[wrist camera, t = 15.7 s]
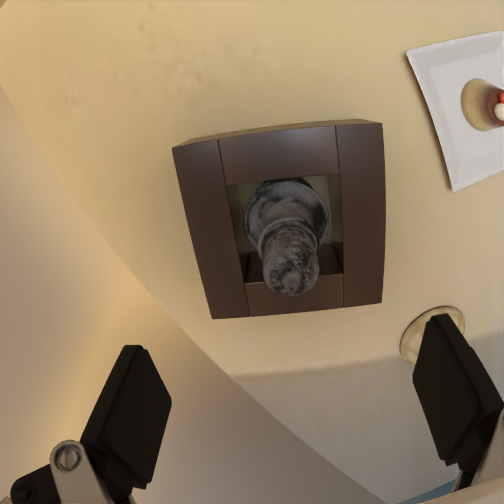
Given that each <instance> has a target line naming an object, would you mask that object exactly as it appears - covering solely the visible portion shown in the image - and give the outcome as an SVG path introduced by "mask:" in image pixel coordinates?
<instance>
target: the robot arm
mask: <svg viewBox="0 0 504 504" xmlns="http://www.w3.org/2000/svg"><path fill="white" fill-rule="evenodd" d="M413 384H414V387H415V389H416V392H417V395H418V397H419V400H420V403H421V405H422V408H423V411H424V414H425V416H426V419H427V422H428V425H429V428H430V431H431V434H432V437H433V440H434V443H435V446H436V449H437V452H438V455H439V458H440V459H441V460H445V464H446V466H449V465H452V464H455V463H458V466H459V469H460V472H459V474H458V477H457V479H456V481H455V483H454V485H453V487H452V489H451V491H450V493H449V494H447V495H445V496H442V497H439V498H436V499H432V500H429V501H426V502H422V503H419V504H504V402H503V400H502V398H501V396H500V394H499V393H498V391H497V389H496V387H495V385H494V383H493V382H492V380H491V378H490V376H489V375H488V373H487V371H486V369H485V368H484V366H483V364H482V363H481V361H480V359H479V358H478V356H477V354H476V353H475V351H474V350H473V348H472V347H470V346H469V345H468V343H467V341H466V340H465V338H464V337H463V335H462V333H461V332H460V330H459V329H458V327H457V326H456V324H455V323H454V321H453V320H452V318H451V317H450V315H449V314H448V313H444V314H439V315H434V316H431V318H430V320H429V321H427V322H426V324H425V329H424V333H423V337H422V341H421V346H420V350H419V353H418V357H417V361H416V365H415V368H414V372H413ZM171 405H172V402H171V397H170V395H169V393H168V391H167V389H166V387H165V385H164V383H163V381H162V379H161V377H160V375H159V373H158V371H157V369H156V367H155V365H154V363H153V361H152V359H151V357H150V354H149V352H148V351H147V350H146V349H144V348H143V347H142V346H141V345H125V346H124V347H123V349H122V351H121V353H120V355H119V357H118V359H117V361H116V363H115V365H114V367H113V369H112V371H111V373H110V375H109V377H108V379H107V381H106V383H105V386H104V388H103V390H102V392H101V394H100V396H99V398H98V400H97V403H96V405H95V407H94V409H93V411H92V413H91V416H90V418H89V420H88V423H87V425H86V427H85V429H84V432H83V434H82V436H81V439H80V442H77V441H74V440H66V441H62V442H61V443H59V444H57V446H55V447H54V449H53V450H52V452H51V455H50V464H48V465H46V466H44V467H42V468H40V469H38V470H35V471H34V472H31V473H29V474H27V475H25V476H23V477H21V478H19V479H17V480H16V481H15V482H14V484H13V485H12V488H11V493H10V495H11V498H9V497H8V496H7V497H5V498H4V499H3V500H2V501H1V502H0V504H136V502H135V500H134V499H133V497H132V495H131V493H132V489H133V487H135V488H140V489H146V486H147V483H150V482H151V481H152V477H153V473H154V469H155V465H156V462H157V458H158V454H159V450H160V446H161V442H162V439H163V435H164V431H165V427H166V424H167V420H168V416H169V413H170V409H171Z"/></svg>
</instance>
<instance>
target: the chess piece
mask: <svg viewBox="0 0 504 504" xmlns="http://www.w3.org/2000/svg"><path fill="white" fill-rule="evenodd" d="M244 226H245V232H246V235H247V237H248V239H249V241H250V243H251V244H252V245H253V246H254V247H255V249H256V250H257V251H258V252H259V256H260V258H261V260H262V262H263V276H264V280H265V282H266V284H267V286H268V287H269V288H270V289H271V290H272V291H274V292H275V293H277V294H279V295H282V296H297V295H300V294H303V293H305V292H306V291H308V290H309V289H310V288H311V287H312V286H313V285H314V284H315V282H316V280H317V278H318V274H319V262H318V258H317V256H318V254H319V250H320V245H321V244H322V243H323V241H324V239H325V237H326V235H327V232H328V227H329V213H328V210H327V207H326V205H325V202H324V201H323V200H322V198H321V197H320V196H319V194H318V193H317V192H315V191H314V189H313V188H312V187H311V185H310V184H309V183H307V182H306V181H305V180H303V179H302V178H299V177H295V178H286V179H277V180H269V181H264V182H263V183H262V184H261V185H260V186H259V187H258V189H257V190H256V192H255V194H254V196H253V198H252V199H251V200H250V202H249V204H248V206H247V209H246V211H245V217H244Z"/></svg>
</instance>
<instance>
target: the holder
mask: <svg viewBox="0 0 504 504" xmlns="http://www.w3.org/2000/svg"><path fill="white" fill-rule="evenodd" d="M172 153H173V157H174V162H175V167H176V172H177V177H178V182H179V186H180V191H181V195H182V200H183V204H184V209H185V213H186V218H187V222H188V226H189V231H190V235H191V239H192V243H193V247H194V251H195V255H196V259H197V264H198V267H199V271H200V275H201V279H202V283H203V287H204V291H205V295H206V298H207V302H208V306H209V310H210V313H211V317H212V319H225V318H240V317H250V316H251V317H254V316H267V315H278V314H289V313H300V312H309V311H319V310H328V309H337V308H343V307H344V308H346V307H354V306H362V305H370V304H377V303H381V302H382V291H383V277H384V258H385V228H386V190H385V159H384V142H383V128H382V123H379V122H373V121H368V120H363V119H352V120H335V121H320V122H308V123H298V124H288V125H279V126H270V127H263V128H255V129H248V130H241V131H234V132H229V133H222V134H216V135H210V136H205V137H199V138H194V139H191V140H188V141H186V142H184V143H181V144H179V145H177V146H175V147H173V148H172ZM326 174H328V177H329V190H330V204H331V220H332V239H333V244H326V245H320V250H319V254H318V256H317V258H318V262H319V274H318V278H317V280H316V282H315V284H314V285H313V286H312V287H311V288H310V289H309V290H308V291H306V292H305V293H303V294H300V295H297V296H282V295H279V294H277V293H275V292H274V291H272V290H271V289H270V288H269V287H268V286H267V284H266V282H265V280H264V276H263V262H262V260H261V258H260V256H259V252H250V253H249V248H248V242H247V236H246V232H245V226H244V218H243V212H242V206H241V200H240V195H239V189H238V184H245V183H253V182H261V181H269V180H277V179H286V178H295V177H305V176H315V175H326Z"/></svg>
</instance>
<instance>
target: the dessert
mask: <svg viewBox="0 0 504 504" xmlns="http://www.w3.org/2000/svg"><path fill="white" fill-rule="evenodd" d="M406 54H407V57H408V59H409V61H410V63H411V65H412V68H413V70H414V72H415V75H416V77H417V79H418V82H419V84H420V87H421V89H422V92H423V95H424V97H425V100H426V102H427V105H428V108H429V111H430V114H431V116H432V119H433V122H434V125H435V128H436V131H437V135H438V138H439V141H440V144H441V148H442V151H443V155H444V158H445V162H446V165H447V169H448V173H449V177H450V181H451V186H452V190H453V192H454V193H455V192H457V191H459V190H462V189H464V188H466V187H468V186H471V185H473V184H475V183H477V182H479V181H482V180H484V179H486V178H488V177H490V176H492V175H495V174H497V173H499V172H501V171H503V170H504V30H503V31H496V32H490V33H484V34H478V35H473V36H468V37H463V38H458V39H453V40H449V41H445V42H440V43H436V44H432V45H428V46H424V47H421V48H417V49H413V50H410V51H407V52H406Z"/></svg>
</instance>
